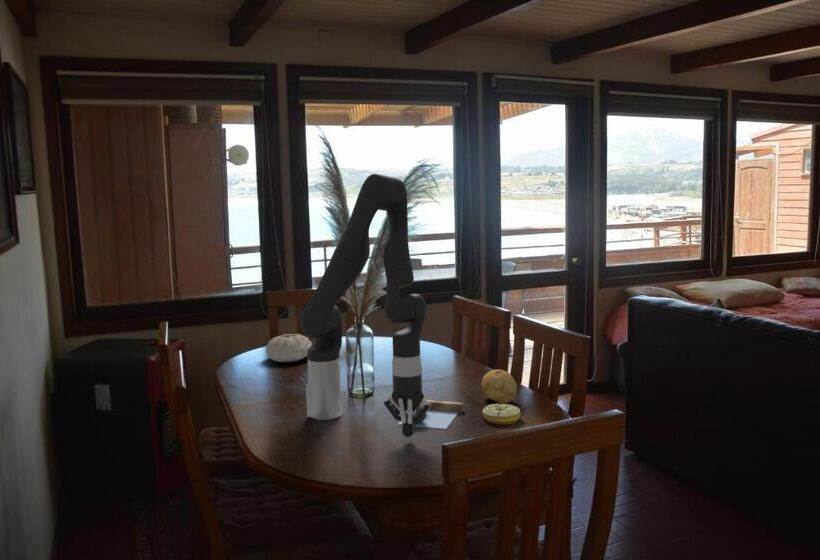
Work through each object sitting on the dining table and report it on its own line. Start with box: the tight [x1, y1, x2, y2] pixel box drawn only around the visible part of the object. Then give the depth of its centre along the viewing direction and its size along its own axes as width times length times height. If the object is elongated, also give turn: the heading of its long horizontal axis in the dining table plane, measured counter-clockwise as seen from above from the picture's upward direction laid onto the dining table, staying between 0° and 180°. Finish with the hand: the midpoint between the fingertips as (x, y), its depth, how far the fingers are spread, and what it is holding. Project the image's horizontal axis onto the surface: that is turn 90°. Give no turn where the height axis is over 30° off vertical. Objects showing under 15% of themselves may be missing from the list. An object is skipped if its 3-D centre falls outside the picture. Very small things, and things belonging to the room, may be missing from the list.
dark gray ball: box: [414, 405, 426, 424], centre depth 187 cm, size 6×6×6 cm
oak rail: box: [426, 399, 465, 414], centre depth 198 cm, size 16×2×2 cm, turn 71°
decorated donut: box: [482, 403, 522, 426], centre depth 189 cm, size 10×11×4 cm
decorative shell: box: [265, 333, 313, 363], centre depth 260 cm, size 18×18×10 cm
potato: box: [480, 369, 518, 404], centre depth 204 cm, size 10×12×10 cm
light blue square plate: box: [397, 409, 460, 430], centre depth 191 cm, size 14×14×1 cm
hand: (408, 436), depth 174 cm, fingers closed
